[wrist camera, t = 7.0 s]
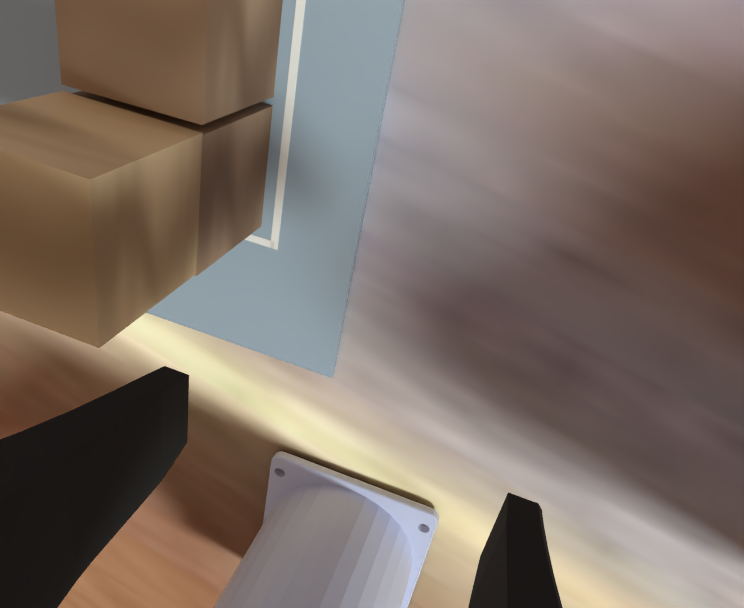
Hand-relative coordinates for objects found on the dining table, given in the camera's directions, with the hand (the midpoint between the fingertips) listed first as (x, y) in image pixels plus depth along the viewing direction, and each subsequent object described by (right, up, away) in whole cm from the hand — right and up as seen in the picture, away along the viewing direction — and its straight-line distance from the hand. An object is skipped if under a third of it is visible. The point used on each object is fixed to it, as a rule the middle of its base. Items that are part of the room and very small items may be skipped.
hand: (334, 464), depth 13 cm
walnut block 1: (-4, +13, +7) cm, 15 cm away
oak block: (-6, +7, +5) cm, 11 cm away
